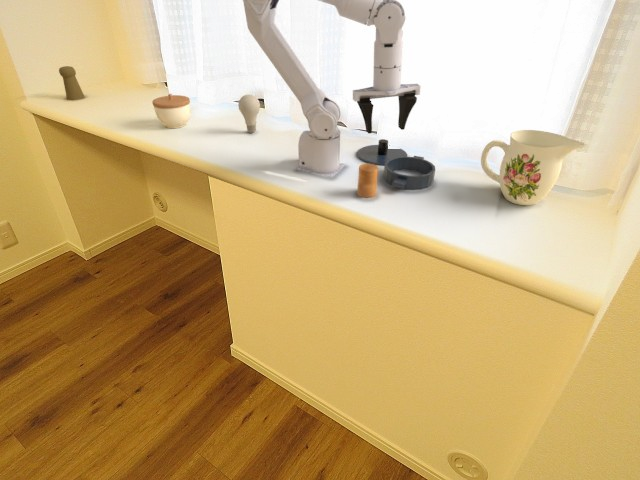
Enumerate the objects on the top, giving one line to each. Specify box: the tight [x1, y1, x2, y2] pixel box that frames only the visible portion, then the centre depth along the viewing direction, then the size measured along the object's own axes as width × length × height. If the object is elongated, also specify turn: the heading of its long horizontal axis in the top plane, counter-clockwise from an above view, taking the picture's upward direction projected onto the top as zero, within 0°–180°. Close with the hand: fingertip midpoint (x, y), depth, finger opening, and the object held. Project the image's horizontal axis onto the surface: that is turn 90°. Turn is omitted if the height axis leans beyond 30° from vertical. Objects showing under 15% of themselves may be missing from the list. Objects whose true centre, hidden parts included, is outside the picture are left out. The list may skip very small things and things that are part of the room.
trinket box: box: [152, 93, 192, 129], centre depth 124 cm, size 11×11×9 cm
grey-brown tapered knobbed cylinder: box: [58, 65, 86, 101], centre depth 149 cm, size 6×6×11 cm
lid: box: [356, 138, 408, 166], centre depth 104 cm, size 13×13×4 cm
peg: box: [357, 163, 379, 199], centre depth 86 cm, size 4×4×7 cm
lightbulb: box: [238, 93, 261, 134], centre depth 118 cm, size 6×6×11 cm
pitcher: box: [480, 129, 587, 206], centre depth 83 cm, size 11×18×14 cm, turn 51°
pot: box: [383, 155, 436, 191], centre depth 93 cm, size 11×17×4 cm
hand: (385, 130), depth 92 cm, fingers open, 7 cm apart
